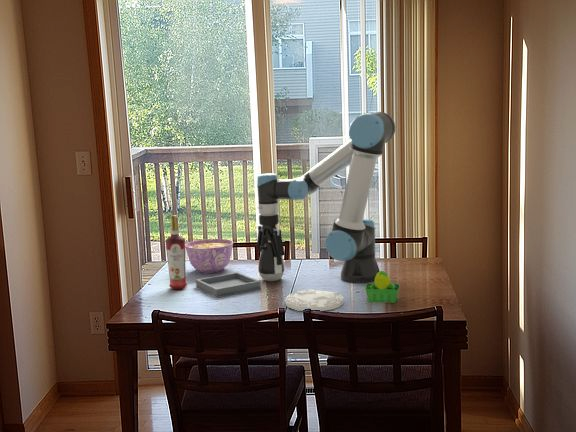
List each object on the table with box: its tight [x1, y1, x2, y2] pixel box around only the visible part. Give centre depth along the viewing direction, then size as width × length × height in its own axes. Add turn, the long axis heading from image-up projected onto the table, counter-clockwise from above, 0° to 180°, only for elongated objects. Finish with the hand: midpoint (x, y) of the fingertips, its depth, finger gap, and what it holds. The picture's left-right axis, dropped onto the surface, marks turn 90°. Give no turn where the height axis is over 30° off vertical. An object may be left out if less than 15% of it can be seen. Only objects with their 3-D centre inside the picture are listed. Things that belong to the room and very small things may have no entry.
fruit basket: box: [364, 270, 401, 304], centre depth 248 cm, size 11×9×11 cm
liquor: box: [164, 214, 188, 291], centre depth 275 cm, size 7×7×28 cm
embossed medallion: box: [284, 288, 344, 312], centre depth 249 cm, size 20×20×3 cm
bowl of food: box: [185, 238, 234, 274], centre depth 302 cm, size 20×20×12 cm
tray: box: [195, 271, 261, 298], centre depth 274 cm, size 18×18×3 cm
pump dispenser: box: [257, 241, 286, 282], centre depth 283 cm, size 10×10×15 cm
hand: (271, 270), depth 283 cm, fingers closed on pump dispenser, 10 cm apart
